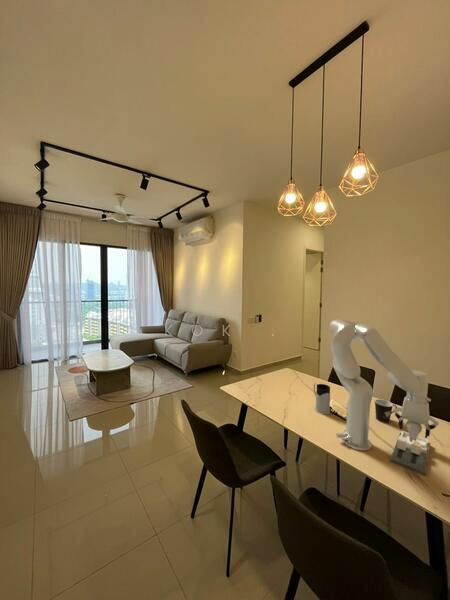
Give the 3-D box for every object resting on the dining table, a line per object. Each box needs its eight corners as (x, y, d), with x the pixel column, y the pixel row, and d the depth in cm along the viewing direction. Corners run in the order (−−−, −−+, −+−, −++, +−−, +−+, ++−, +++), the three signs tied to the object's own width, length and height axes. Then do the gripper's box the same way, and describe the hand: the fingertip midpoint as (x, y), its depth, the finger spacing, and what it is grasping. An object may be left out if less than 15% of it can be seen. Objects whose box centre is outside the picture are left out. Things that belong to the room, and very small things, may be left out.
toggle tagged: (419, 455, 111) (419, 445, 110) (410, 451, 113) (411, 442, 112) (420, 450, 114) (420, 441, 113) (412, 447, 116) (412, 438, 115)
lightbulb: (405, 436, 124) (406, 415, 124) (421, 442, 120) (422, 420, 120) (404, 442, 120) (405, 420, 119) (420, 448, 116) (422, 425, 115)
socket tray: (426, 453, 113) (426, 450, 113) (398, 443, 120) (399, 440, 119) (427, 442, 120) (428, 439, 120) (402, 433, 127) (402, 430, 127)
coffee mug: (375, 422, 140) (376, 404, 139) (372, 414, 148) (373, 398, 147) (400, 426, 136) (401, 408, 135) (395, 418, 144) (396, 401, 143)
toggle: (405, 450, 113) (405, 442, 113) (397, 447, 115) (397, 439, 115) (406, 446, 116) (407, 438, 116) (398, 443, 118) (399, 435, 118)
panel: (425, 476, 101) (425, 472, 101) (390, 461, 109) (390, 458, 109) (430, 445, 120) (430, 442, 120) (400, 434, 128) (400, 432, 128)
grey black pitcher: (319, 415, 146) (321, 390, 145) (307, 403, 160) (308, 380, 159) (333, 413, 148) (334, 389, 147) (319, 402, 162) (320, 379, 161)
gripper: (440, 401, 115) (437, 436, 116) (395, 389, 127) (393, 422, 128) (440, 407, 110) (436, 444, 111) (393, 394, 121) (390, 428, 123)
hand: (413, 432), depth 120 cm, fingers open, 9 cm apart
